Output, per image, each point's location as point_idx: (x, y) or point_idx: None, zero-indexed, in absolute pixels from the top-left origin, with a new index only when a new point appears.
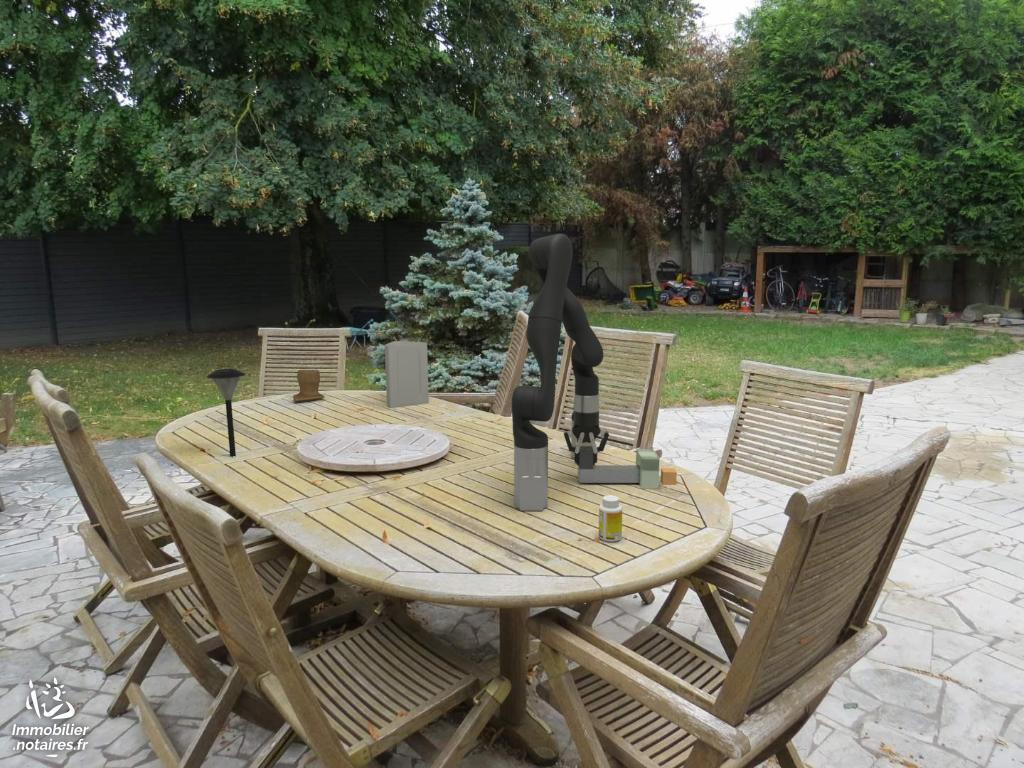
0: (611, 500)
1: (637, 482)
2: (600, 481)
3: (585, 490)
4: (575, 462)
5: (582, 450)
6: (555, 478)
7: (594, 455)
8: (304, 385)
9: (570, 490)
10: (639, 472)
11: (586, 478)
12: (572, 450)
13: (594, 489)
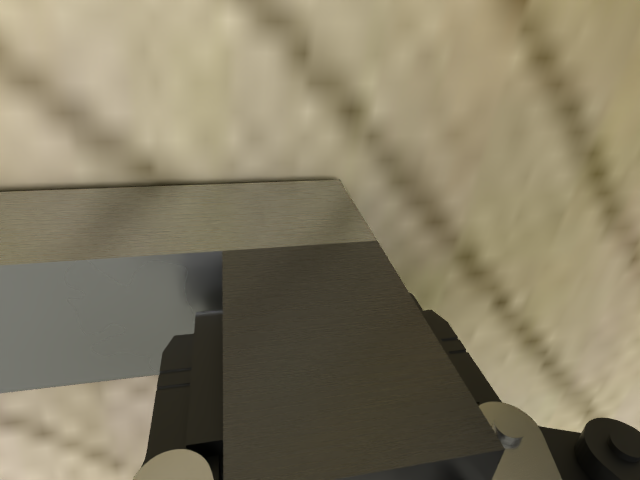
0: None
1: None
2: (144, 191)
3: (297, 17)
4: (433, 316)
5: (447, 446)
6: (470, 288)
7: (197, 417)
8: None
9: (434, 22)
10: None
11: (282, 198)
12: (586, 436)
13: (206, 47)
